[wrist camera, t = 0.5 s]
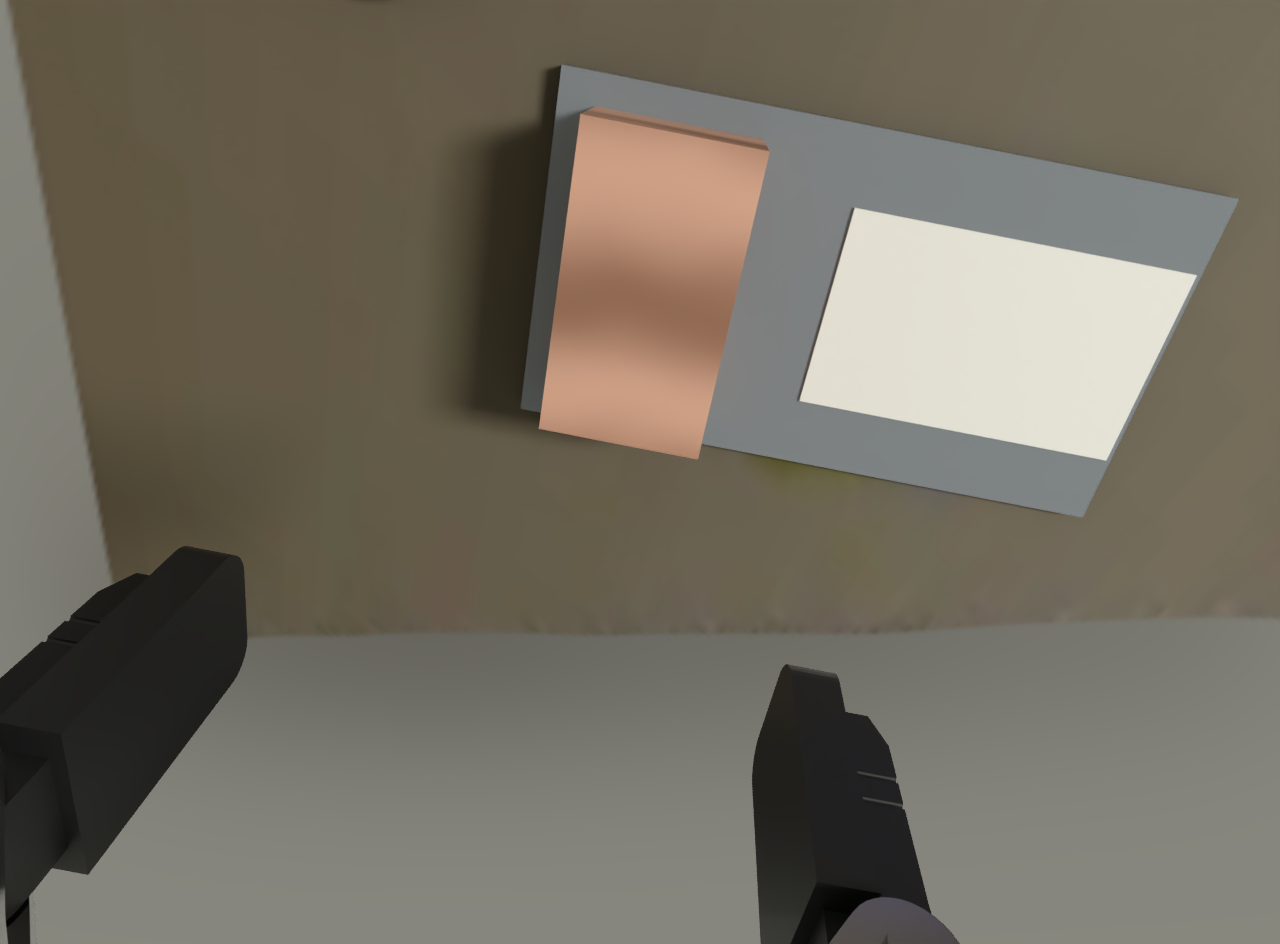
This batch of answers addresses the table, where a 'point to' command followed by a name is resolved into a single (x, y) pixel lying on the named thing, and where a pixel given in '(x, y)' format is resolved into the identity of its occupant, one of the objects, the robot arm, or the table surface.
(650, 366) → the block
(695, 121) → the mat
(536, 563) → the table surface
